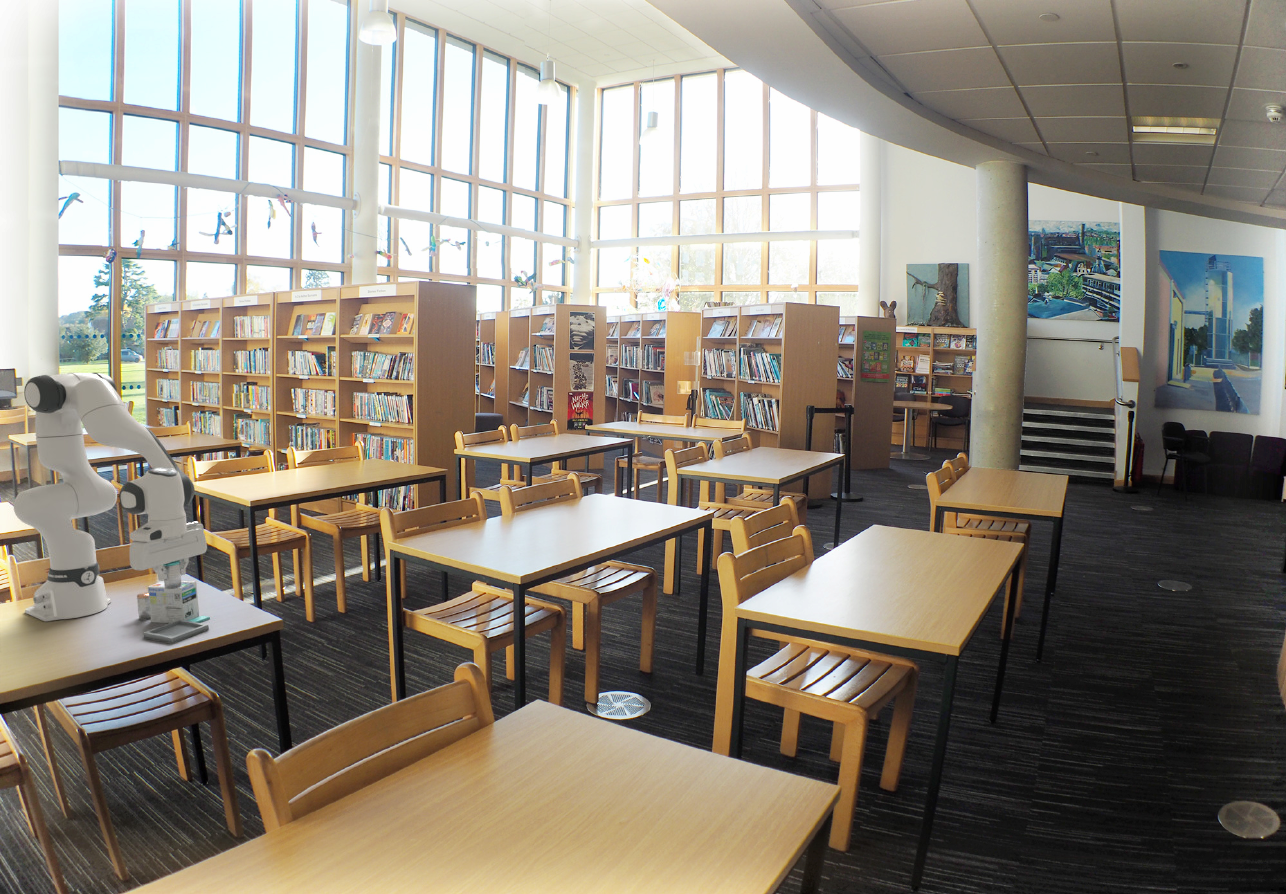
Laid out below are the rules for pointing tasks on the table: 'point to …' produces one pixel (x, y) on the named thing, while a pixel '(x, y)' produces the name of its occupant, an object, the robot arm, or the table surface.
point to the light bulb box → (173, 602)
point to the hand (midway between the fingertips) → (172, 577)
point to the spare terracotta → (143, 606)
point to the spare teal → (172, 575)
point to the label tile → (199, 619)
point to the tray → (176, 631)
